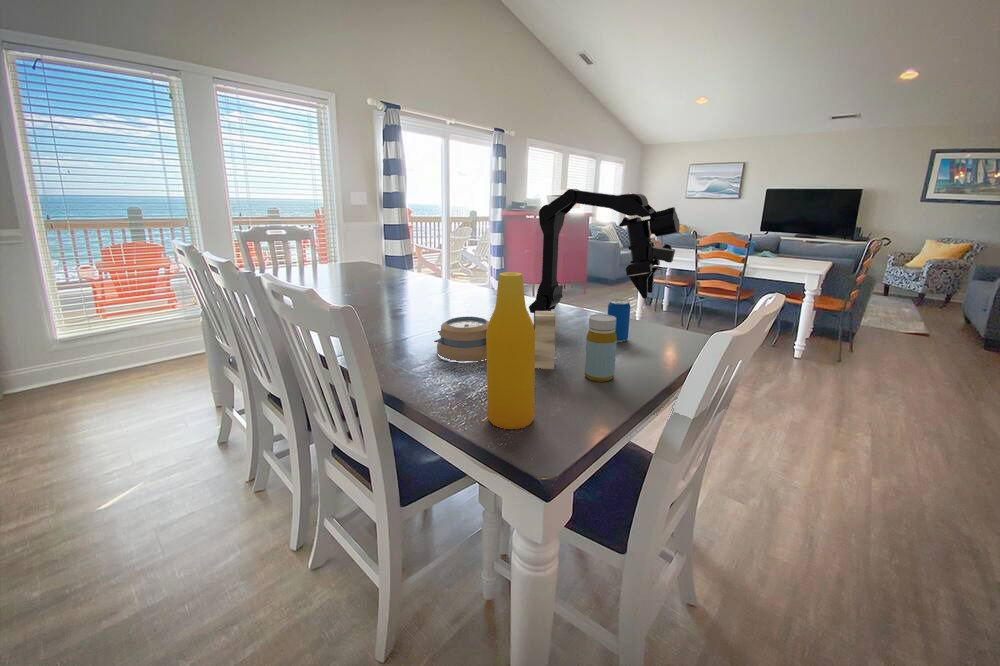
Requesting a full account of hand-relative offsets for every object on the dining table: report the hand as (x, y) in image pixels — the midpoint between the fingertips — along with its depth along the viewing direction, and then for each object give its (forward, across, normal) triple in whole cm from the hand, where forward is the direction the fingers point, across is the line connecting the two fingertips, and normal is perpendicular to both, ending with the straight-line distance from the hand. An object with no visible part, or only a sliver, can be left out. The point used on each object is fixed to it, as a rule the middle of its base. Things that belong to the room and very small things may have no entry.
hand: (647, 295), depth 126 cm
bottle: (+14, -28, +9) cm, 33 cm away
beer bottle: (+13, -57, +19) cm, 61 cm away
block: (+11, -26, +24) cm, 37 cm away
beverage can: (+13, +3, +12) cm, 18 cm away
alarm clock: (+6, -25, +44) cm, 51 cm away
